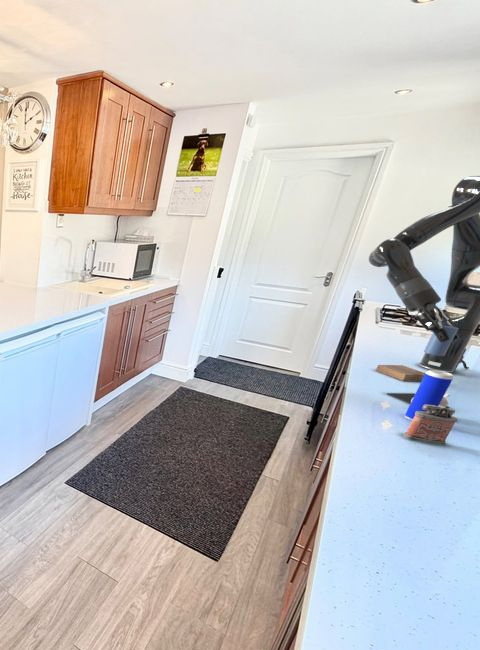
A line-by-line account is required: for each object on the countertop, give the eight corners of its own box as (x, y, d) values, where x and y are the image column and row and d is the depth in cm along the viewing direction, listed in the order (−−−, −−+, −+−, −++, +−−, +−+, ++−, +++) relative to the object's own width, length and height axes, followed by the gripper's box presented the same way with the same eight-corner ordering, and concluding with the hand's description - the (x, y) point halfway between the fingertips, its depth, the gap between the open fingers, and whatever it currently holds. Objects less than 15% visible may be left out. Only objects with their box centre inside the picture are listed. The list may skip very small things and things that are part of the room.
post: (432, 351, 130) (445, 324, 127) (448, 356, 126) (463, 328, 123) (419, 351, 130) (432, 324, 127) (435, 355, 126) (449, 328, 122)
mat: (414, 394, 135) (414, 393, 135) (449, 408, 126) (449, 407, 125) (386, 394, 134) (387, 393, 134) (419, 408, 125) (420, 406, 125)
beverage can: (417, 416, 119) (441, 369, 114) (434, 424, 115) (460, 376, 109) (399, 414, 120) (422, 368, 114) (415, 423, 115) (439, 375, 110)
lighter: (438, 439, 107) (456, 406, 103) (447, 446, 104) (467, 412, 100) (400, 433, 109) (417, 400, 105) (408, 439, 106) (425, 406, 102)
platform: (399, 371, 156) (402, 365, 155) (428, 381, 147) (431, 375, 146) (375, 370, 155) (378, 364, 154) (402, 381, 146) (405, 374, 145)
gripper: (419, 288, 125) (455, 336, 119) (443, 286, 130) (478, 333, 124) (390, 301, 131) (422, 347, 125) (413, 299, 136) (445, 344, 130)
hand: (450, 340), depth 125 cm, fingers closed on post, 4 cm apart
